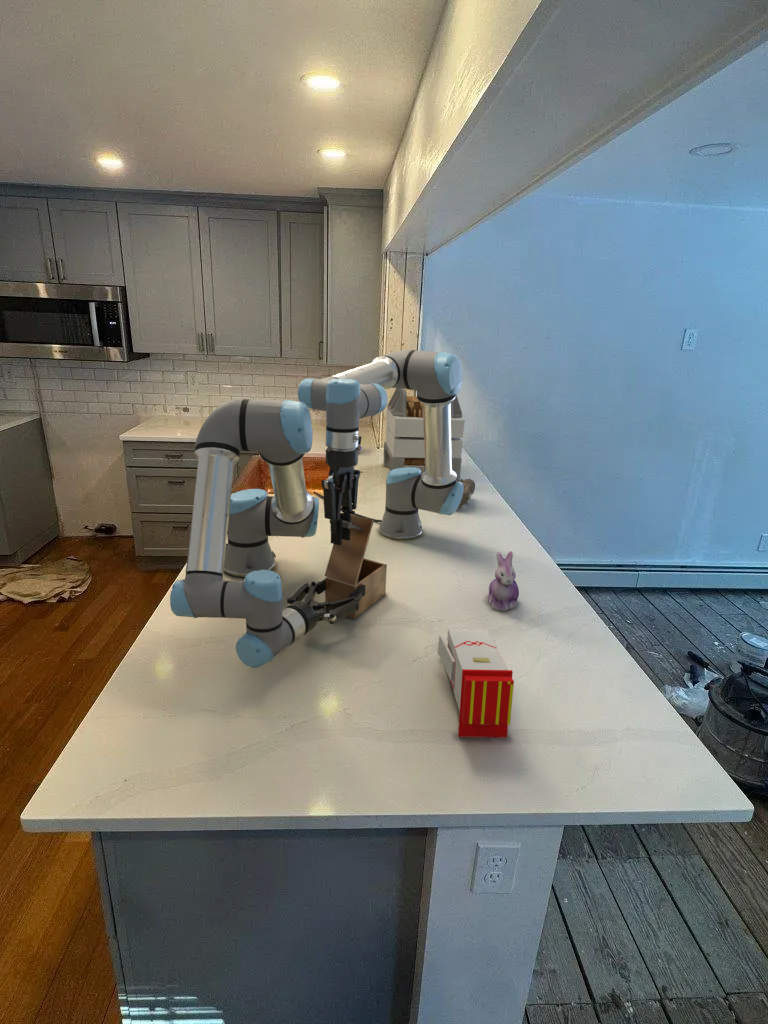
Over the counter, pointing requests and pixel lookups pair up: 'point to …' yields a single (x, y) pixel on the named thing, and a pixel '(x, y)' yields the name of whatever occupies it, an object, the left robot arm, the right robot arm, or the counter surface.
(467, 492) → the fossil
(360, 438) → the figurine character
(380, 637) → the counter surface
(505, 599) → the figurine
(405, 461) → the white wooden crate
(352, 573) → the door
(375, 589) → the chest
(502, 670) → the toy
